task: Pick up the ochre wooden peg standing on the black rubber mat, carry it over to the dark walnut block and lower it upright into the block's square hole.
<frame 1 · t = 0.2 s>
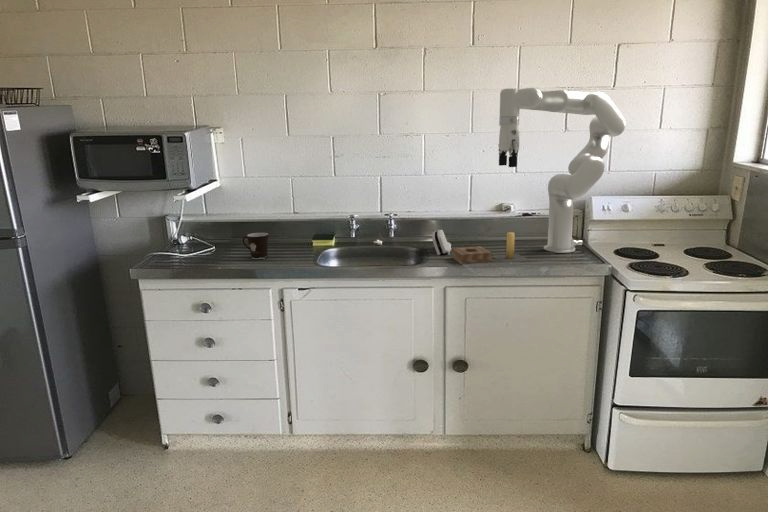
hand: (507, 166, 224), 36 cm above the table, tool pointing down, fingers open, 9 cm apart
peg: (510, 257, 224), point 1 cm above the table, touching mat
coffee mug: (257, 258, 238), on the table
hole block: (471, 260, 224), on the table
hinge: (441, 251, 242), on the table
mat: (510, 259, 224), on the table
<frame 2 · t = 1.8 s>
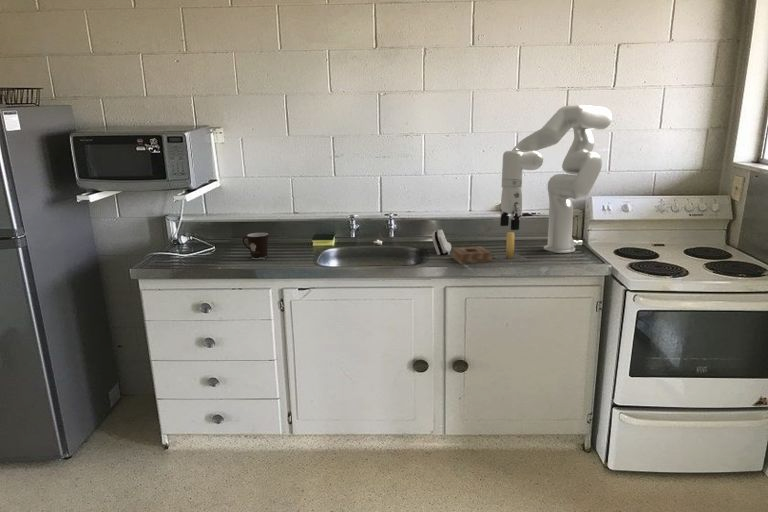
hand: (509, 227, 221), 13 cm above the table, tool pointing down, fingers open, 9 cm apart
nothing on the table moved.
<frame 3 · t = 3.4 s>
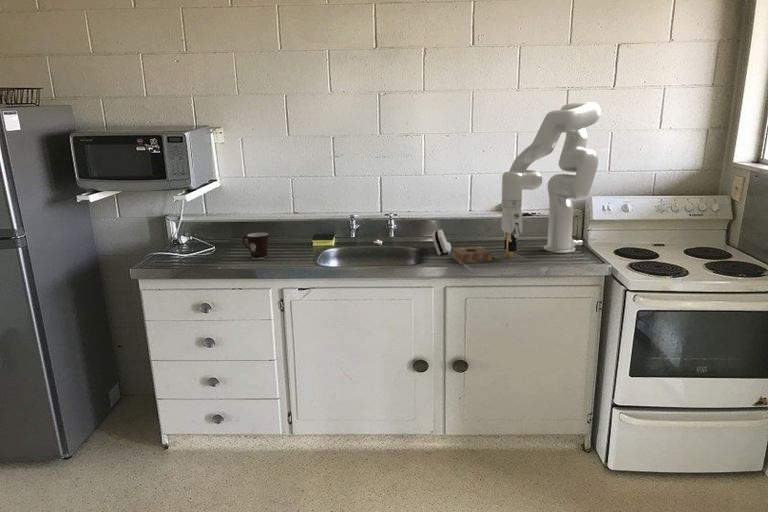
hand: (510, 249, 223), 4 cm above the table, tool pointing down, fingers closed on peg, 3 cm apart
peg: (510, 257, 224), point 1 cm above the table, touching gripper, mat
everything else where it was.
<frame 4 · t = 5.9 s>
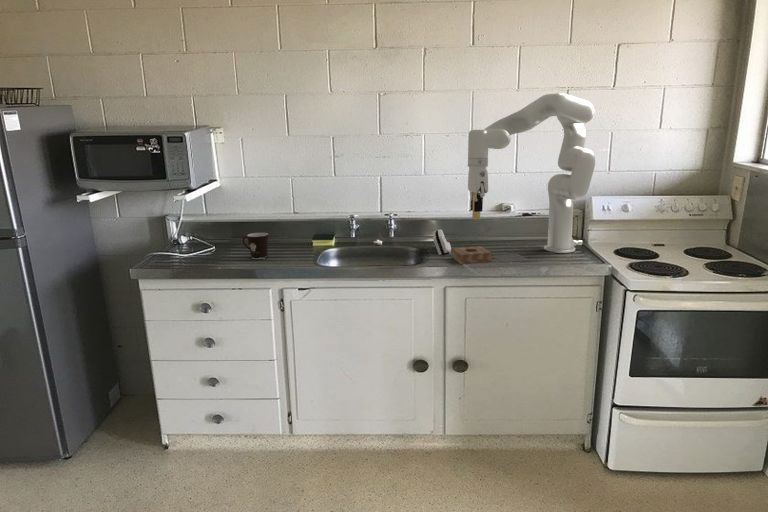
hand: (476, 210, 219), 20 cm above the table, tool pointing down, fingers closed on peg, 3 cm apart
peg: (476, 218, 220), point 17 cm above the table, touching gripper
everything else where it was.
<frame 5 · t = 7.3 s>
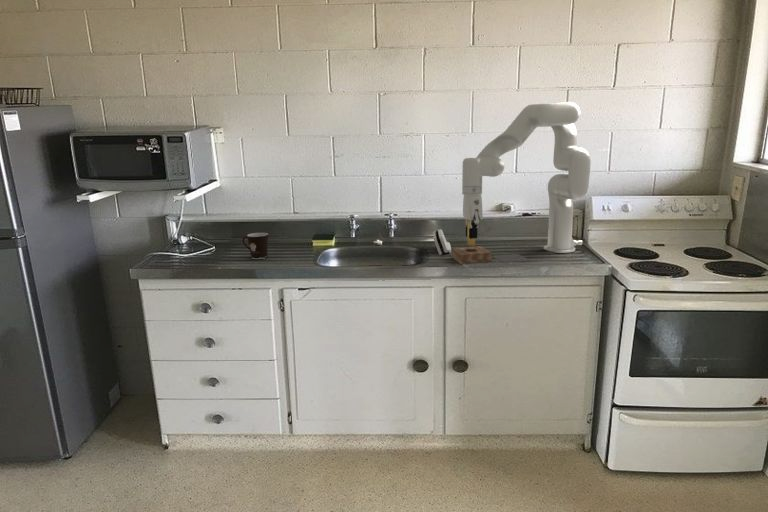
hand: (471, 236, 222), 9 cm above the table, tool pointing down, fingers closed on peg, 3 cm apart
peg: (471, 244, 222), point 6 cm above the table, touching gripper
everything else where it was.
when the fingers open (5 cm above the table, at t = 8.6 s): peg drops 2 cm, resting in hole block.
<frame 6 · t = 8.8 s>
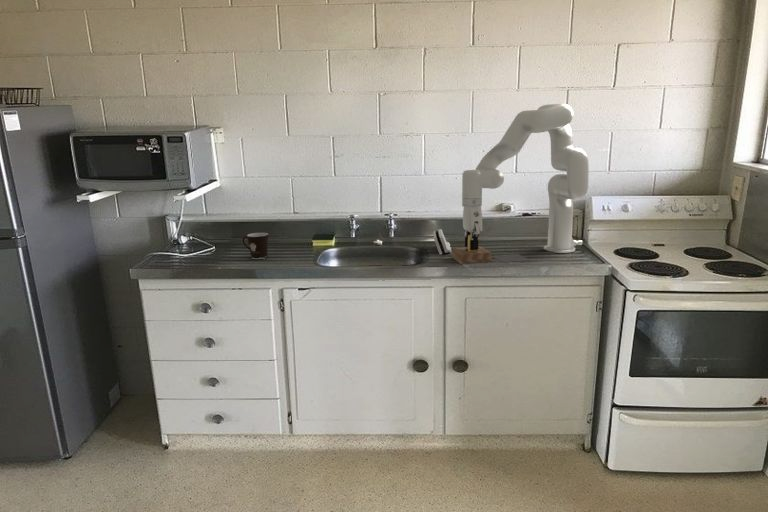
hand: (471, 247, 223), 5 cm above the table, tool pointing down, fingers open, 5 cm apart
peg: (471, 260, 224), resting in hole block
everything else where it was.
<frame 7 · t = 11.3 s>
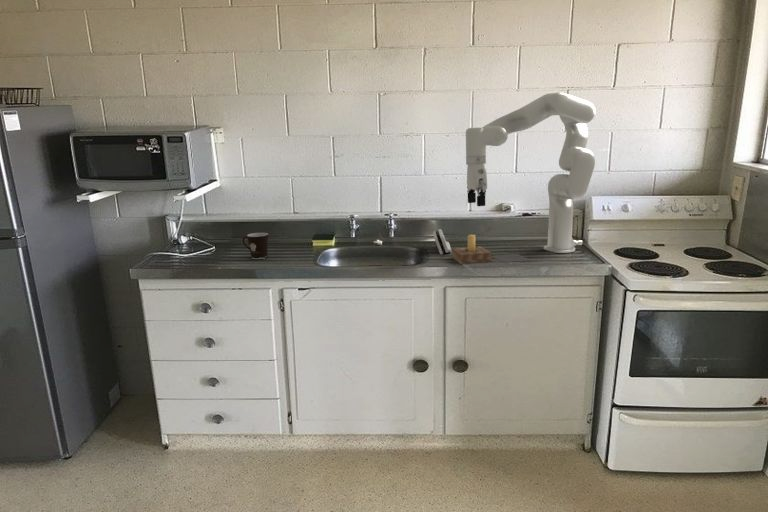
hand: (476, 204, 223), 22 cm above the table, tool pointing down, fingers open, 9 cm apart
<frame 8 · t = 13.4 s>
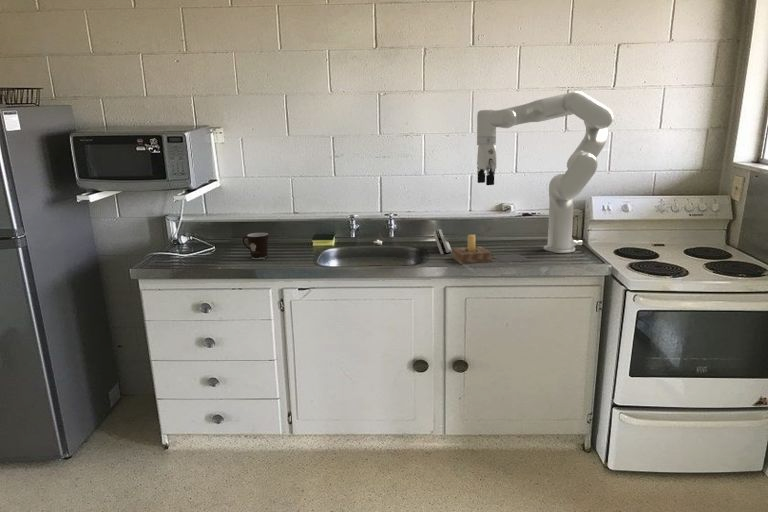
hand: (485, 183, 233), 28 cm above the table, tool pointing down, fingers open, 9 cm apart
at the end: peg 0.0 cm off-centre on the hole block, point 0.0 cm above the hole block's base; peg tilted 0°; the gripper is holding nothing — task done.
